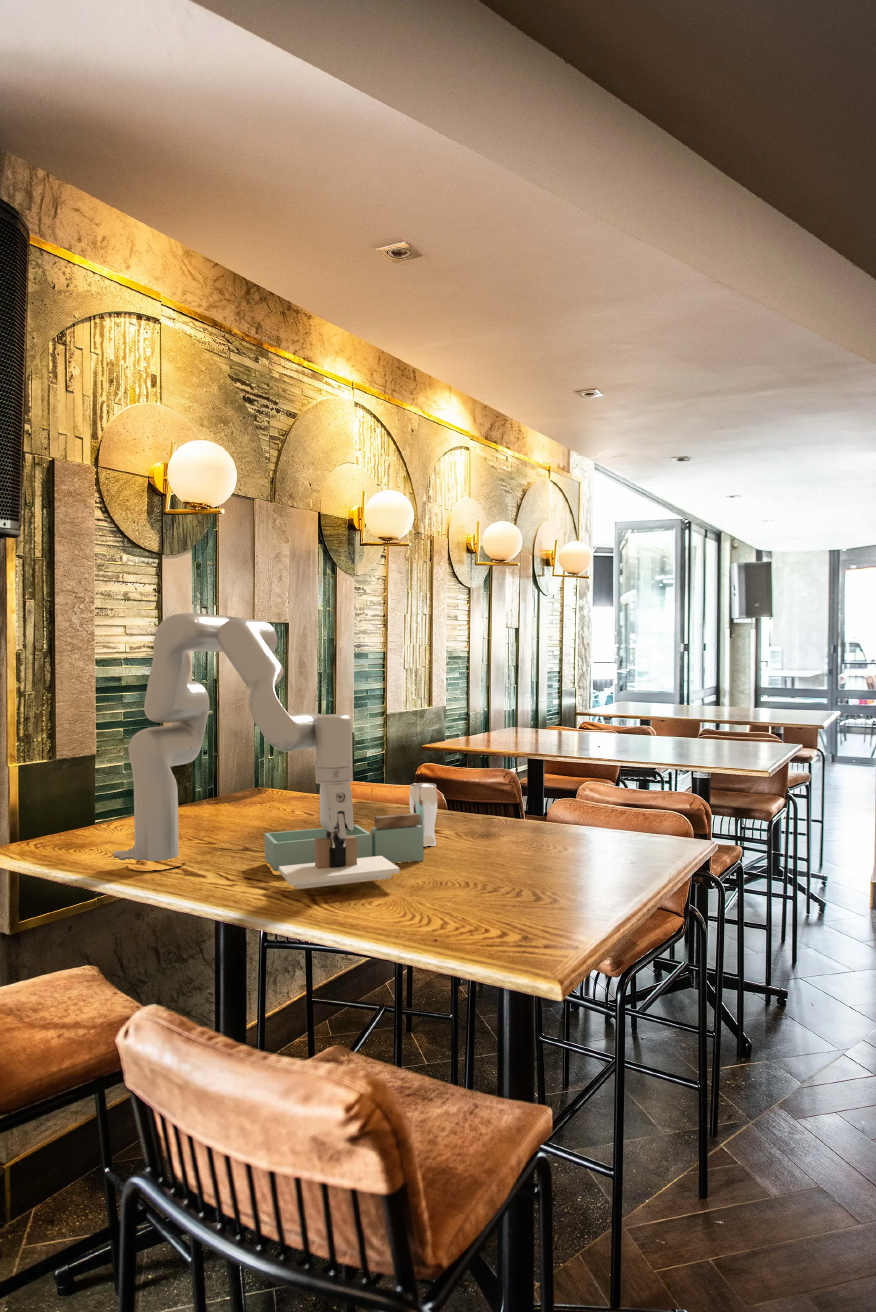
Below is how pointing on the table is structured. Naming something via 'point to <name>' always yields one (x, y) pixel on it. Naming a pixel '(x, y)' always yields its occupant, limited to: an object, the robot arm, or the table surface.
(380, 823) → the brown rectangular block
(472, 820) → the table surface
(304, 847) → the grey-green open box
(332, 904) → the table surface
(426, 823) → the beer glass
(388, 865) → the lid
